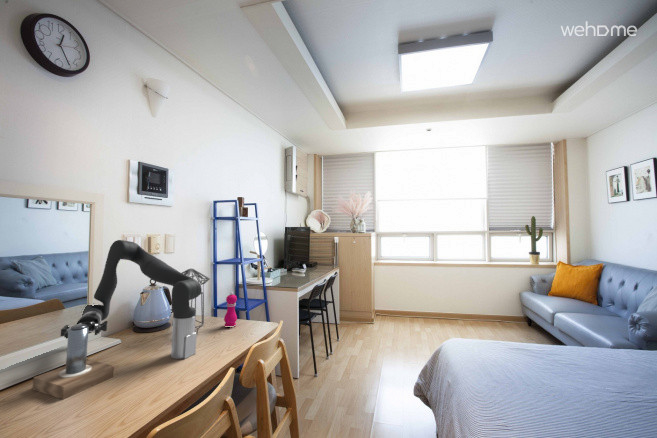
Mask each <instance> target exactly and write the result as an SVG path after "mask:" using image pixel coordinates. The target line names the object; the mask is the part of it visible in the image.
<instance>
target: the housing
mask: <svg viewBox="0 0 657 438" xmlns="http://www.w3.org/2000/svg"><path fill="white" fill-rule="evenodd" d="M74 325H75V326H74ZM74 325H73V326H70V327H71V328H70V329H69V330H68V338H67V346H66V347H67V348H66V358H65V366H66V371H65V373H66V374H76V373H79V372H82V371H84V370H85V369H86V359H88V358H87V355H88V344H89V340H88V339H89V334H88V330H89V327H88V326H87V325H86V324H80V325H76V324H74Z"/></svg>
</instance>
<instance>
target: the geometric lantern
mask: <svg viewBox="0 0 657 438" xmlns="http://www.w3.org/2000/svg"><path fill="white" fill-rule="evenodd" d="M181 273H182V274H184V275H186V276H188V277H191V278H193V279H195V278H196V279H197V281H198V282H199V284H200V285H201V286H202V291H201V294H200V295H201V297H200V299H201V300H200V301H201V303H200V304H201V307H200V308H201V321H199V320H197V319H196V320H195V322H197V323H199V324H201V325H197V326H196V325H195V332H196V333H197V334H198V332H199V329H201V327H203V326H204V324H205V292H204V291H205V288H204V286H205V284H206V283H207V282H208V281H210V280H211V278H210V277H209V276H207V275H205V274H202V273H201V272H199V270H196V269H194V268H188V269H186V270H184V271H183V272H181ZM190 275H191V276H190ZM193 300H194V308H195V309H196V310H197V297H196V298H194V299H191V300H190V307H193ZM171 327H173V320H172V322H171Z"/></svg>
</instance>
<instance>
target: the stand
mask: <svg viewBox="0 0 657 438" xmlns="http://www.w3.org/2000/svg"><path fill="white" fill-rule="evenodd" d="M114 369H115V367H114V365H112V364H111V365H110V364H107V363H104V362H100V361H97V360H93V359H89V358H87V359H86V369H85V370H84V371H82V372H79V373H76V374H66V373H65V371H66V365H63V366H61V367H58V368H56V369H53V370H51V371H47V372H45V373H42V374H39V375H37V376H34V377H33V381H32V383H33V384H32V390H34V391H37V392H40V393H42V394H45V395H49V396H52V397H53V398H54V397H55V398H57V399H59V400H65V399H67V398H70V397H72V396H74V395H76V394H78V393H80V392H83V391H85V390H88V389H90V388H91V387H93V386H97V385H98V384H101V383H103V382H105V381H107V380H110V379H111V378H114Z"/></svg>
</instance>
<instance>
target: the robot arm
mask: <svg viewBox="0 0 657 438" xmlns="http://www.w3.org/2000/svg"><path fill="white" fill-rule="evenodd" d="M121 260H125V261H130V262H133V263H135V265H136V264H137V265H138V266H139V269H140V271H141V274H143V275H144V276H146V277H148V278H149V279H150V280H152V281H154V282H157V283H160V284H164V285H168V286H172V290H171V312H172V316H173V317H172V321H173V326H171V327H172V329H171V330H172V331H171V346H170V347H171V348H170V357H171V358H172V359H175V360H176V359H177V360H178V359H179V360H180V359H188V358H189V357H191V356H194V355H196V351H197V336H198V335H197V334H198V333H196V332H195V331H196V328H195V327H196V321H195V320H197V308H196V309H195V307H193V306H192V307H191V305H190V301H191V300H192V299H193V300H195V298H196V299H197V298H198V297H200V295H201V292H203V287H202V285H200V284H201V283H200V282H198V280H196V279H195V278H192V277H190V276H189V277H188V276H187V275H184V273H183V274H182V272H180V271H178V270H177V269H175V268H174V267H172V266H170V265H169V264H168V263H166V262H165V261H163V260H162V259H160V258H158V257H156V256H154V255H153V254H151V253H149V252H148V251H146V250H145V249H143V247H142V246H140V244H138V243H135V242H134V241H129V240H125V239H117V240H115V241H114V242H112V243H111V245H110V248H109V250H108V253H107V257H106V261H105V265H104V268H103V273H102V276H101V278H100V282H99V284H98V286H97V288H96V290H95V292H94V295H93V298H94V300H96V301H99V302H100V303H102V304H98V305H94V306H92V305H87V304H86V305H87V306H86V305H85V306H86V307H85V306H84V307H85V309H84V311H83V314H82V317H81V316H80V318H79V319H78V321H77V322H76V324H74V325H73V326H75V325H80V324H86V325H87V326H88V327H89V330H88V335H89V334H92V333H94V336H98V334H100V333H101V332H106V331H107V330H108V320H106V319H107V318H108V316H109V315H110V306H111V301H112V297H113V295H114V293H115V291H116V288H117V285H118V275H117V274H118V273H117V269H118V264H119V262H120V261H121ZM199 283H200V284H199ZM104 320H105V321H104ZM102 321H103V322H102ZM101 322H102V323H101ZM71 327H72V326H70V325H69V324H67V325H64V326H63V327H62V328H60V337H63V338H65V339H67V340H68V330H69V329H70V328H71Z"/></svg>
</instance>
